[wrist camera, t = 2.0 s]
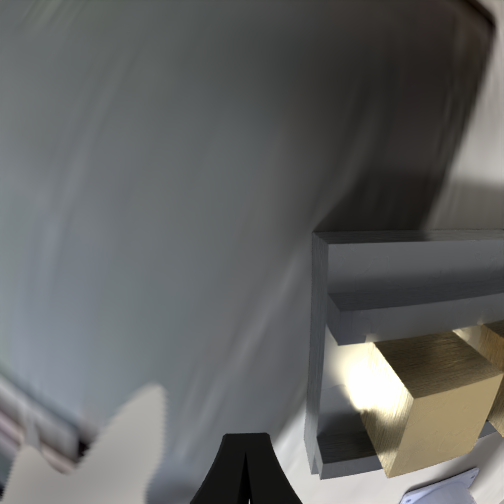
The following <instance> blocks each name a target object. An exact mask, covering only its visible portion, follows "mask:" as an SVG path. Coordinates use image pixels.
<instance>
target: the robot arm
mask: <svg viewBox="0 0 504 504" xmlns="http://www.w3.org/2000/svg"><path fill="white" fill-rule="evenodd" d="M478 472H479V469H478V468H474V469H472V470H469V471H467V472H464V473H462V474H459V475H457V476H454V477H452V478H449V479H447V480H444V481H441V482H438V483H436V484H433V485H430V486H427V487H424V488H421V489H417V490H414V491H411V492H408V493H407V494H405V495H404V497H403V499H402V501H401V503H400V504H477V503H476V502H475V500H474V499H473V497H472V495H471V494H470V492H469V490H468V488H469V487H470V485H471V484H472V482H473V480H474V479H475V477H476V476H477V474H478ZM249 499H250V504H303V503H302V502H301V501H300V499H299V498H298V496H297V495H296V493H295V491H294V490H293V488H292V487H291V485H290V483H289V481H288V479H287V478H286V476H285V474H284V472H283V470H282V468H281V466H280V464H279V462H278V459H277V457H276V455H275V452H274V450H273V447H272V444H271V440H270V435H269V434H267V433H240V434H225V435H224V436H223V438H222V442H221V445H220V448H219V451H218V453H217V455H216V458H215V460H214V462H213V464H212V466H211V468H210V470H209V472H208V474H207V476H206V478H205V480H204V481H203V483H202V485H201V487H200V488H199V490H198V491H197V493H196V495H195V496H194V498H193V499H192V501H191V502H190V504H249Z"/></svg>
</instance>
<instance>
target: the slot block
mask: <svg viewBox="0 0 504 504" xmlns="http://www.w3.org/2000/svg"><path fill="white" fill-rule="evenodd" d="M500 320H504V229H476V230H382V231H334V232H312V303H311V334H310V356H309V375H308V391H307V406H306V419H305V432H304V441H305V446H306V451H307V456H308V460H309V465H310V470H311V475H312V474H319V476H320V480H322V479H330V478H336V477H343V476H349V475H354V474H360V473H365V472H370V471H375V470H379V469H383V467H382V465H381V462H380V460H379V458H378V455H377V453H376V451H375V449H374V446H373V444H372V442H371V440H370V437H369V435H368V433H367V431H366V428H365V426H364V424H363V422H362V419H361V417H360V416H361V411H362V406H363V401H364V395H365V389H366V383H367V377H368V371H369V364H370V357H371V350H372V342H378V341H386V340H393V339H401V338H408V337H414V336H421V335H427V334H433V333H439V332H445V331H451V330H452V331H453V332H455V333H456V334H457V335H458V336H460V337H461V338H462V339H463V340H464V341H466V342H467V343H468V344H469V345H471V346H472V347H473V348H474V349H476V350H477V346H478V342H479V338H480V334H481V330H482V325H483V324H486V323H491V322H495V321H500ZM495 431H497V430H496V429H495V428H494V426H493V425H492V424H491V423H490V422H489V421H488V420H487V419H486V421H485V423H484V426H483V428H482V430H481V432H480V434H479V436H478V439H479V438H481V437H484V436H486V435H488V434H491V433H493V432H495Z"/></svg>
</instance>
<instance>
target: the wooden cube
mask: <svg viewBox="0 0 504 504" xmlns="http://www.w3.org/2000/svg"><path fill="white" fill-rule="evenodd" d="M503 375H504V373H503V372H502V371H501V370H499V369H498V368H497V367H496V366H495V365H494V364H492V363H491V362H490V361H489V360H488V359H486V358H485V357H484V356H483V355H482V354H480V353H479V352H478V351H477V350H476V349H474V348H473V347H472V346H471V345H469V344H468V343H467V342H466V341H464V340H463V339H462V338H461V337H460V336H458V335H457V334H456V333H455V332H453V331H452V330H451V331H445V332H439V333H433V334H427V335H421V336H414V337H408V338H401V339H393V340H386V341H378V342H372V350H371V357H370V364H369V371H368V377H367V383H366V389H365V395H364V401H363V406H362V411H361V416H360V417H361V419H362V422H363V424H364V426H365V428H366V431H367V433H368V435H369V437H370V440H371V442H372V444H373V446H374V449H375V451H376V453H377V455H378V458H379V460H380V462H381V465H382V467H383V469H384V472H385V474H386V476H387V478H391V477H395V476H399V475H403V474H406V473H410V472H413V471H417V470H420V469H424V468H427V467H430V466H433V465H436V464H439V463H442V462H445V461H448V460H450V459H453V458H456V457H458V456H461V455H464V454H466V453H469V452H471V451H472V449H473V447H474V445H475V443H476V441H477V439H478V436H479V434H480V432H481V430H482V428H483V426H484V423H485V421H486V419H487V416H488V414H489V412H490V409H491V407H492V404H493V402H494V399H495V397H496V394H497V391H498V389H499V386H500V383H501V380H502V378H503Z"/></svg>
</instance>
